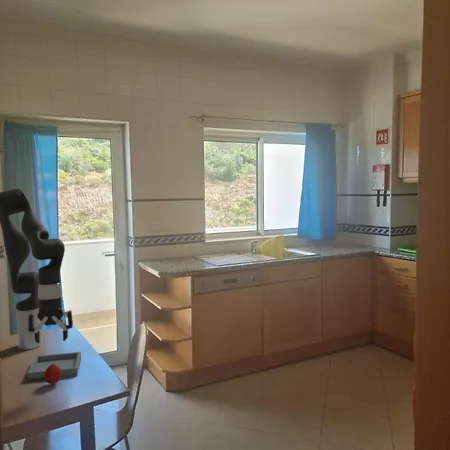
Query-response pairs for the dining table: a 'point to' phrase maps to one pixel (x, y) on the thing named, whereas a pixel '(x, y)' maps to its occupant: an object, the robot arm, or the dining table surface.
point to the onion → (53, 374)
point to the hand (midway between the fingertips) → (51, 341)
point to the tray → (64, 361)
